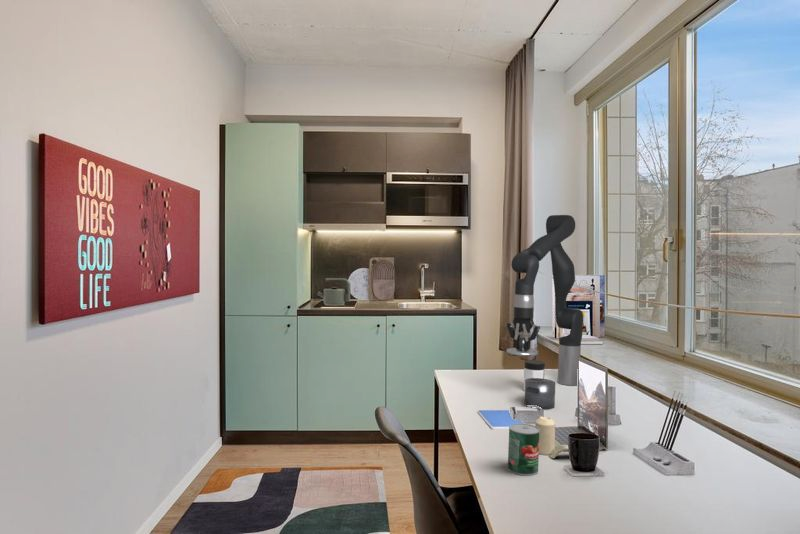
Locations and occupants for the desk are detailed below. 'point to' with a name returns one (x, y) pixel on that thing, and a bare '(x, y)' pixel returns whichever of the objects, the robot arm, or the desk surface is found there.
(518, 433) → the canned tomato
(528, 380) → the pot
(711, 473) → the desk surface
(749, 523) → the desk surface
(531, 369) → the jar
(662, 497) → the desk surface
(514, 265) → the robot arm
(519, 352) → the lid
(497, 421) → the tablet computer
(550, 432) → the candle
